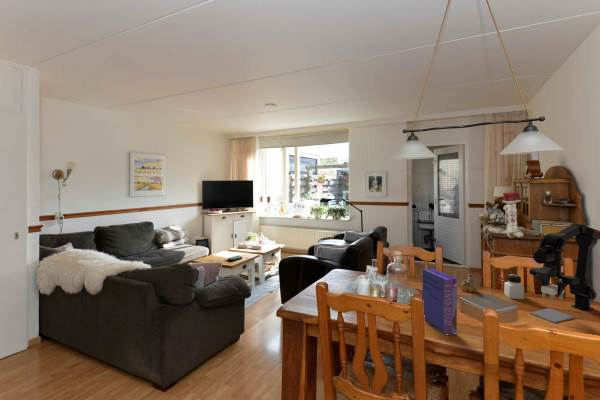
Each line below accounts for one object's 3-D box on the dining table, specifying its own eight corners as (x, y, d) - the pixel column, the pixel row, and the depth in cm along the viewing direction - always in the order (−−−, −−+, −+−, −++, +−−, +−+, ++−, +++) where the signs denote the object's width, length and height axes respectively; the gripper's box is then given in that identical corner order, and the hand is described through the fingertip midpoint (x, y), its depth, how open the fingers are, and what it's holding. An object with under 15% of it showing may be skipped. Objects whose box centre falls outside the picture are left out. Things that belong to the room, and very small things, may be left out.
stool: (541, 298, 151) (541, 286, 150) (552, 296, 153) (552, 284, 153) (552, 302, 146) (552, 289, 146) (564, 300, 148) (564, 287, 148)
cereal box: (456, 334, 134) (457, 278, 133) (446, 335, 133) (447, 279, 132) (431, 317, 151) (431, 267, 150) (422, 318, 150) (422, 268, 149)
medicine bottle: (524, 299, 171) (524, 277, 170) (509, 298, 172) (510, 277, 171) (518, 294, 178) (518, 273, 177) (504, 294, 179) (504, 273, 178)
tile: (549, 309, 157) (549, 308, 157) (574, 318, 147) (574, 317, 147) (529, 313, 153) (529, 312, 153) (554, 323, 143) (554, 321, 143)
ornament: (460, 291, 186) (460, 274, 185) (463, 288, 190) (463, 271, 190) (475, 294, 180) (475, 276, 180) (477, 291, 185) (478, 274, 184)
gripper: (521, 258, 155) (521, 289, 156) (564, 268, 137) (562, 303, 138) (537, 256, 158) (536, 286, 159) (580, 265, 141) (579, 299, 142)
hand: (552, 293), depth 149 cm, fingers closed on stool, 5 cm apart
